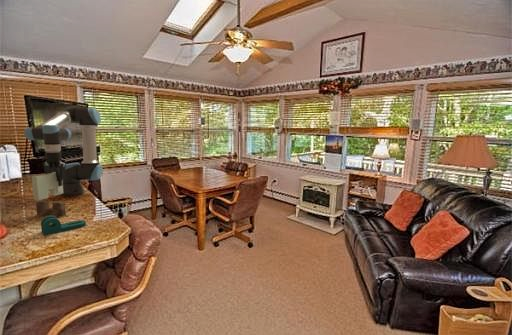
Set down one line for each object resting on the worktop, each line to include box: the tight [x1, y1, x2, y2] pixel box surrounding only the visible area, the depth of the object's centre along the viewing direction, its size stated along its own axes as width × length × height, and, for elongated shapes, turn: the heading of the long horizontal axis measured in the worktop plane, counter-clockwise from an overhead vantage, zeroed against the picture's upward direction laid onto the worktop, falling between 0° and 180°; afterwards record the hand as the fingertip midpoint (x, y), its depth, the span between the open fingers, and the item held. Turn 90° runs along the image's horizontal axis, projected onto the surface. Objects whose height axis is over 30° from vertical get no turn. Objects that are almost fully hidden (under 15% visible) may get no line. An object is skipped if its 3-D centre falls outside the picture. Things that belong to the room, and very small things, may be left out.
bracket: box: [40, 215, 87, 237], centre depth 134 cm, size 18×7×8 cm, turn 137°
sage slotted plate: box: [31, 171, 63, 201], centre depth 150 cm, size 16×3×13 cm, turn 173°
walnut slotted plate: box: [35, 200, 67, 218], centre depth 153 cm, size 16×2×8 cm, turn 83°
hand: (56, 190), depth 156 cm, fingers closed on sage slotted plate, 3 cm apart
